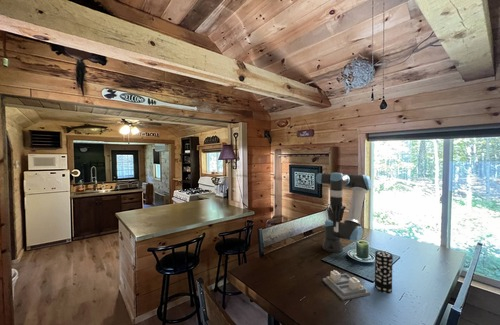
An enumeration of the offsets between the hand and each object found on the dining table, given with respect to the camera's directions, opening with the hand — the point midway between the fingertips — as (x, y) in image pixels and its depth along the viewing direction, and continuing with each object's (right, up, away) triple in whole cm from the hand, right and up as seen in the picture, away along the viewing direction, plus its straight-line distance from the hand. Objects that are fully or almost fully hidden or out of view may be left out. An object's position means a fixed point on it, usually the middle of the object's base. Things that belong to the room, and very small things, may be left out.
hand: (336, 231), depth 145 cm
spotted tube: (+18, -26, -22) cm, 38 cm away
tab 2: (+1, -24, -24) cm, 34 cm away
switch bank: (-3, -25, -20) cm, 33 cm away
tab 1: (-7, -24, -17) cm, 30 cm away
